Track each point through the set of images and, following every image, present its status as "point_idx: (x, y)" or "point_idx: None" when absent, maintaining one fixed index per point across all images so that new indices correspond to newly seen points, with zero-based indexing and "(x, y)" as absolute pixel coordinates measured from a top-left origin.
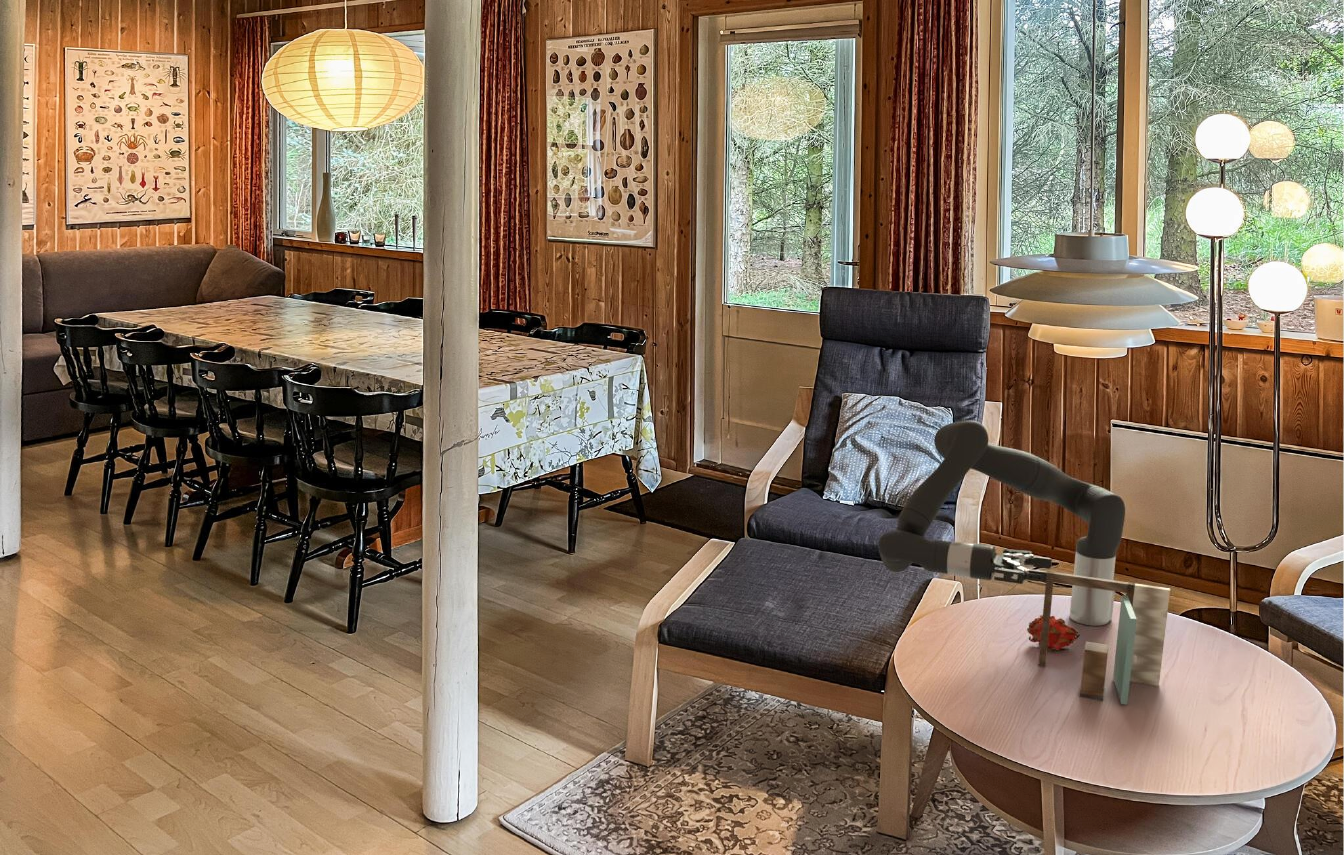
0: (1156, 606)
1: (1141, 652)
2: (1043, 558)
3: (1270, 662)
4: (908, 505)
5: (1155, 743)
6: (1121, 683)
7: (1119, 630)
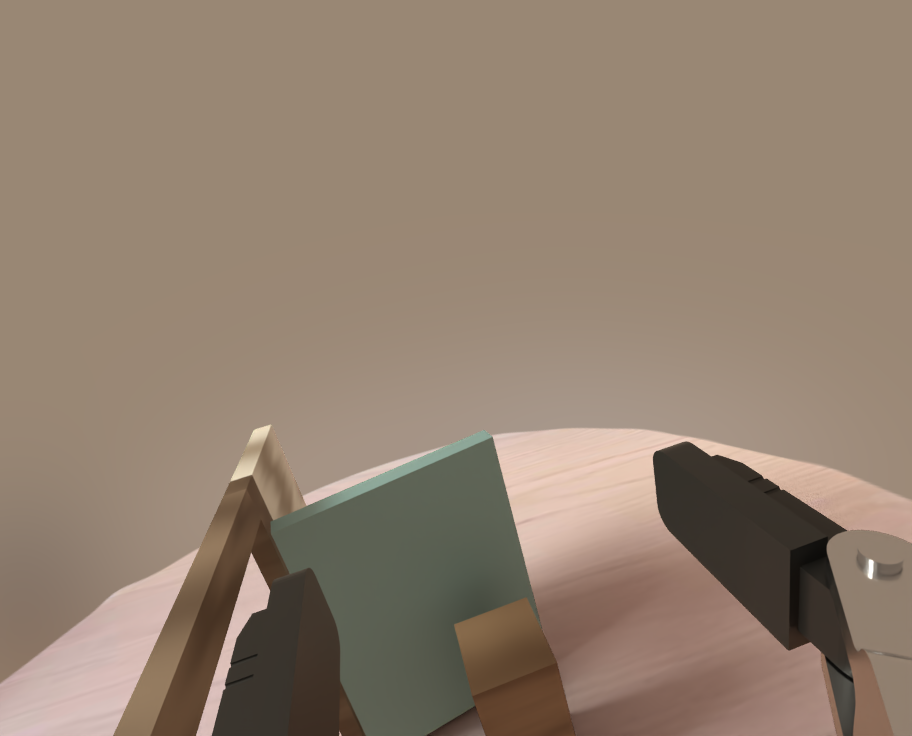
0: (288, 490)
1: None
2: (299, 624)
3: (174, 567)
4: None
5: (666, 541)
6: None
7: (349, 618)
